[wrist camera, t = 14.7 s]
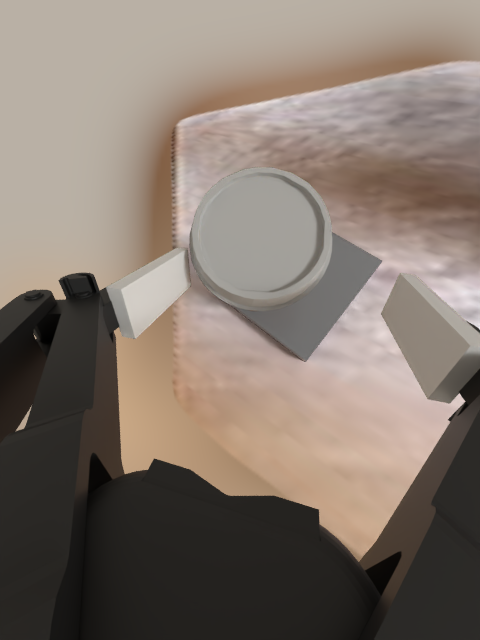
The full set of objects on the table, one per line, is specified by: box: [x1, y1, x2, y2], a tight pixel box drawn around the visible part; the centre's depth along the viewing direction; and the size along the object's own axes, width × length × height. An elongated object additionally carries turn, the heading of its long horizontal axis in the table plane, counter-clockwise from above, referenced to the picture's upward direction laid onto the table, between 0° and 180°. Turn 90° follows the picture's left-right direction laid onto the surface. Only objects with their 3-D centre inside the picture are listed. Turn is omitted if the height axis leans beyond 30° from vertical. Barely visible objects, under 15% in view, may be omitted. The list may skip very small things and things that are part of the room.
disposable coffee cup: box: [190, 167, 332, 311], centre depth 19 cm, size 10×10×12 cm
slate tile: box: [229, 232, 382, 362], centre depth 26 cm, size 14×14×2 cm
